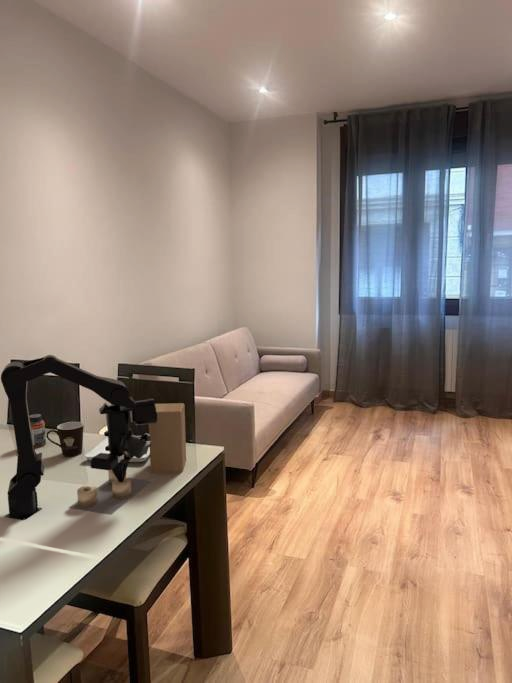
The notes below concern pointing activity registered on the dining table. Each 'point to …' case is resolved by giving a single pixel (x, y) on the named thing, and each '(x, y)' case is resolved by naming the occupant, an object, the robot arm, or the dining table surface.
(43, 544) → the dining table surface
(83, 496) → the one dot puck
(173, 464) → the wooden block
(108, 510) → the mat
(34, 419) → the supplement bottle
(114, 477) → the two dot puck
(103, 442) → the salad plate
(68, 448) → the coffee mug
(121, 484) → the plain puck
